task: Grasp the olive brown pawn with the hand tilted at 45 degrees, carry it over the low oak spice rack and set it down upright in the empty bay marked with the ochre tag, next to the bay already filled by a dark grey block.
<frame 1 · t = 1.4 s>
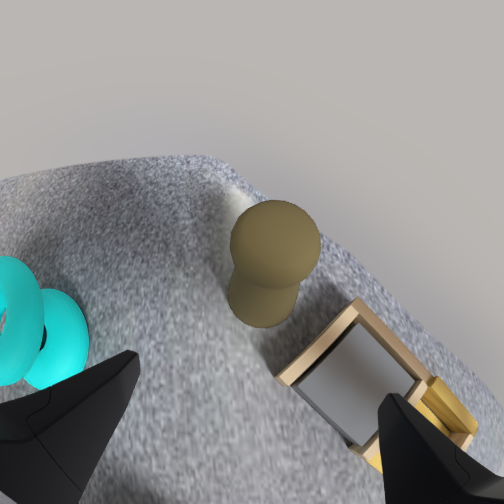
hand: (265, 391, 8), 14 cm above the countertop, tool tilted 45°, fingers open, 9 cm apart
olive brown pawn: (262, 295, 24), on the countertop
spice rack: (381, 418, 19), on the countertop
donuts: (55, 342, 21), on the countertop
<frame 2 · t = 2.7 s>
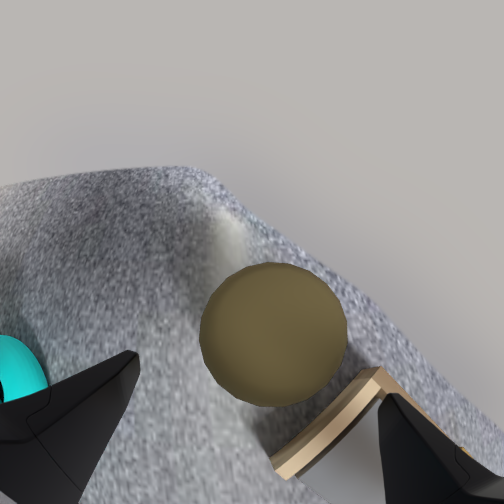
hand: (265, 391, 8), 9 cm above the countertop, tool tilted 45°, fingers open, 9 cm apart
olive brown pawn: (256, 358, 18), on the countertop
spice rack: (393, 489, 13), on the countertop
donuts: (19, 394, 14), on the countertop
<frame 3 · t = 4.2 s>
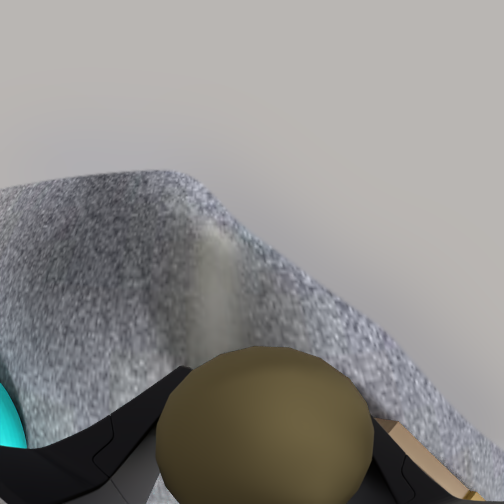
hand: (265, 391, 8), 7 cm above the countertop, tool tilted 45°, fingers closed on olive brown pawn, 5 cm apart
olive brown pawn: (249, 409, 14), on the countertop, touching gripper
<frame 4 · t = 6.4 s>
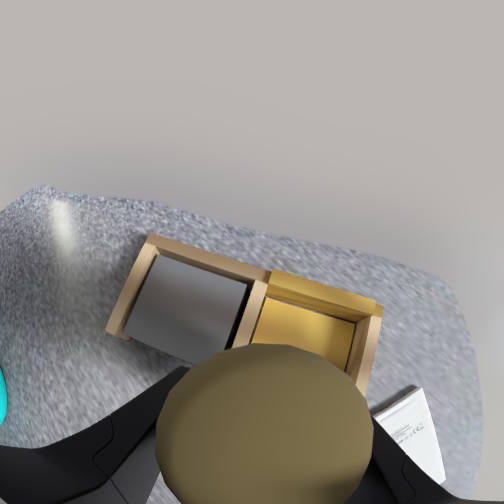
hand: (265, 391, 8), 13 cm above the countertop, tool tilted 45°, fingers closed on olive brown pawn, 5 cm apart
olive brown pawn: (247, 407, 14), point 7 cm above the countertop, touching gripper
spice rack: (244, 337, 22), on the countertop
external hard drive: (396, 457, 18), on the countertop
when the fingers open (8 cm above the countertop, at t = 8.6 s): olive brown pawn stays where it is, resting on spice rack.
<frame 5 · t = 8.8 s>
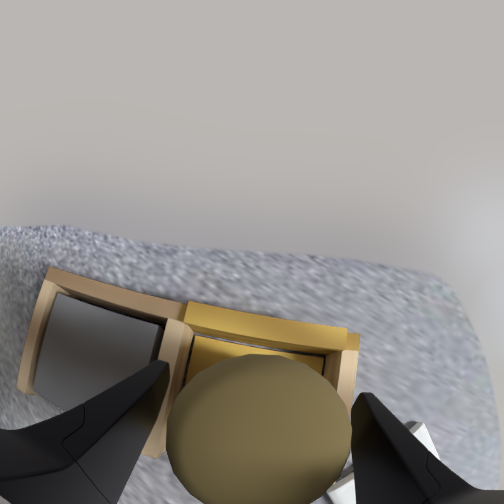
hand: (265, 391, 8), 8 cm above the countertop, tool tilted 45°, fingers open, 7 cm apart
olive brown pawn: (247, 408, 15), resting on spice rack
spice rack: (172, 389, 15), on the countertop
external hard drive: (397, 502, 12), on the countertop
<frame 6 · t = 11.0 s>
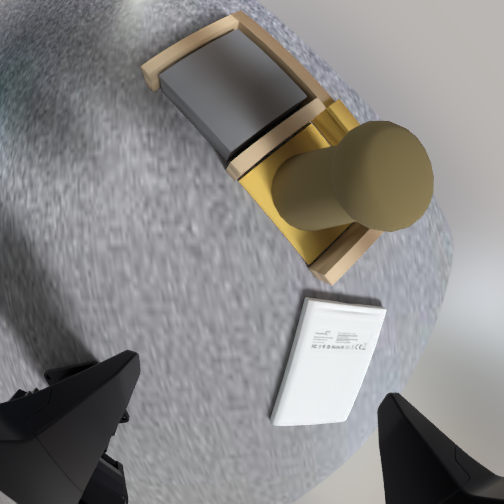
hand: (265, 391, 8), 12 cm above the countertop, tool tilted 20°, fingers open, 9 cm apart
olive brown pawn: (308, 192, 21), resting on spice rack
spice rack: (270, 143, 20), on the countertop
external hard drive: (324, 363, 24), on the countertop
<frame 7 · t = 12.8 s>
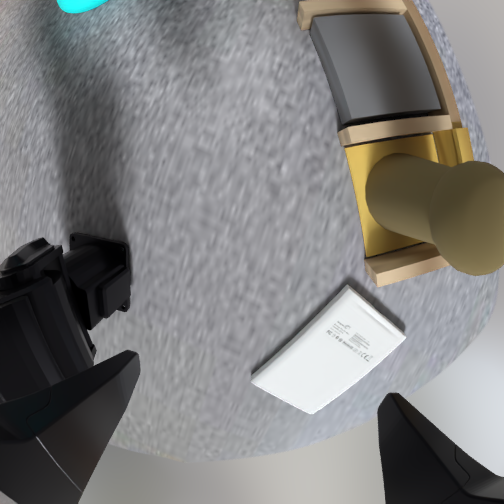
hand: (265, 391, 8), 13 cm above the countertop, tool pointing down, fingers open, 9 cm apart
olive brown pawn: (400, 192, 18), resting on spice rack
spice rack: (388, 130, 17), on the countertop
external hard drive: (327, 352, 24), on the countertop
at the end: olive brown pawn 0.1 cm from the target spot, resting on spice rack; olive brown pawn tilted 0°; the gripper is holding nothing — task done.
